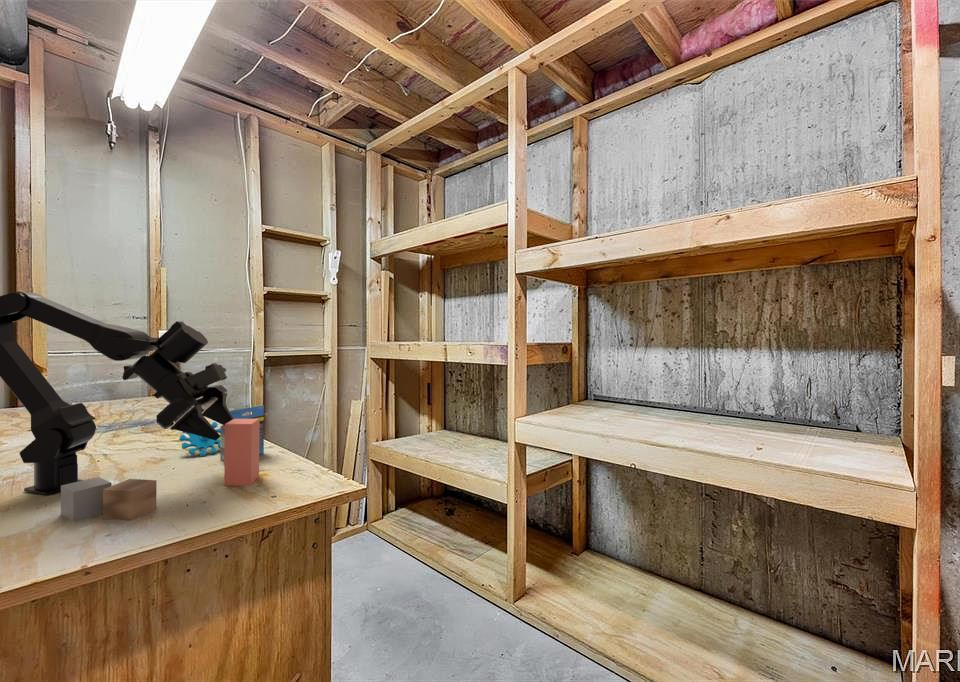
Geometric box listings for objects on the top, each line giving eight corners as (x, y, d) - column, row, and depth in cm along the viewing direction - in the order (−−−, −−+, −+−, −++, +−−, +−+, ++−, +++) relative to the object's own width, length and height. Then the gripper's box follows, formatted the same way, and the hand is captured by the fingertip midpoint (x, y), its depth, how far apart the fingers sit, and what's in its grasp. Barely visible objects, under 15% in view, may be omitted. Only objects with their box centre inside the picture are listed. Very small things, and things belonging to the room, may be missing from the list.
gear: (178, 453, 100) (182, 418, 106) (174, 466, 103) (178, 431, 109) (231, 452, 107) (232, 419, 113) (226, 465, 110) (227, 431, 116)
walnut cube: (102, 519, 71) (102, 489, 70) (129, 506, 76) (129, 478, 75) (131, 521, 70) (131, 491, 70) (156, 508, 75) (156, 480, 75)
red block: (224, 485, 86) (224, 424, 86) (233, 477, 91) (234, 418, 91) (251, 484, 87) (251, 423, 87) (258, 476, 92) (259, 418, 91)
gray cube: (61, 515, 72) (60, 485, 72) (98, 504, 76) (98, 476, 76) (73, 522, 69) (73, 492, 69) (111, 511, 74) (111, 482, 74)
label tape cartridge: (254, 451, 109) (255, 403, 109) (264, 453, 108) (264, 405, 107) (219, 460, 101) (220, 408, 101) (229, 463, 100) (230, 410, 99)
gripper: (175, 354, 77) (241, 414, 80) (217, 348, 96) (270, 397, 98) (125, 398, 76) (194, 457, 79) (178, 384, 94) (232, 432, 97)
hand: (227, 432), depth 88 cm, fingers open, 9 cm apart
